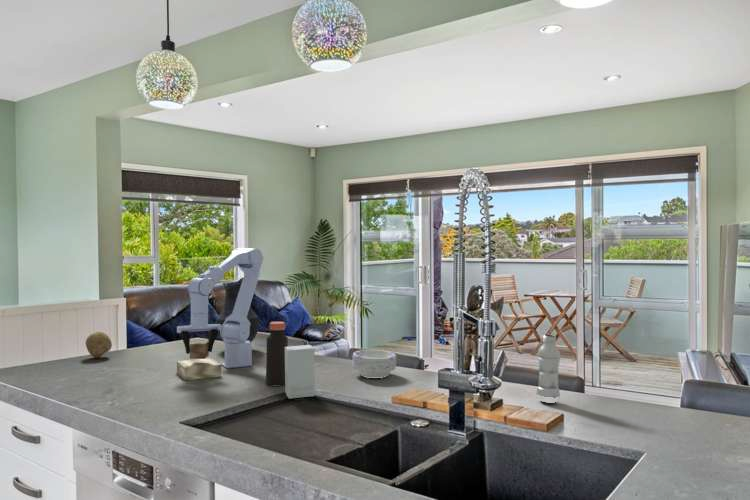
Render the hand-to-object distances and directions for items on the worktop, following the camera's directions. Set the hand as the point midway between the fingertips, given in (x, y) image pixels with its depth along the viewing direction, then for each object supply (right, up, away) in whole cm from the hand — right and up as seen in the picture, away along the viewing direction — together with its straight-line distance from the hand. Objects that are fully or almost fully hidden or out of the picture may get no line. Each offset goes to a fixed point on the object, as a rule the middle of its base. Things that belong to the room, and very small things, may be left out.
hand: (198, 352), depth 196 cm
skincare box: (+38, -9, -24) cm, 45 cm away
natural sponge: (-46, -7, +24) cm, 52 cm away
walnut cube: (0, -2, 0) cm, 2 cm away
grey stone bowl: (+60, -9, +3) cm, 61 cm away
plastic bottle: (+112, -10, -27) cm, 116 cm away
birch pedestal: (0, -8, 0) cm, 8 cm away
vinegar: (+29, -9, -11) cm, 32 cm away
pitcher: (+3, -7, +45) cm, 46 cm away
